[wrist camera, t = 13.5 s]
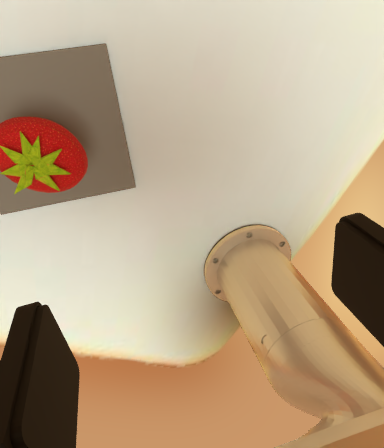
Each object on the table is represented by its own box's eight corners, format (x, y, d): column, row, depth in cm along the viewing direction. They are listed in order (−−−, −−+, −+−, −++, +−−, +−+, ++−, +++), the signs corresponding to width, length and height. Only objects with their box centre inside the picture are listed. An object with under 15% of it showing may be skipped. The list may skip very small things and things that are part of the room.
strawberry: (78, 177, 35) (70, 226, 27) (-2, 148, 32) (-39, 193, 24) (99, 125, 33) (98, 161, 25) (15, 88, 30) (-18, 114, 21)
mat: (135, 185, 38) (135, 187, 37) (2, 212, 35) (0, 214, 35) (105, 43, 30) (105, 43, 30) (-65, 65, 28) (-68, 66, 28)
